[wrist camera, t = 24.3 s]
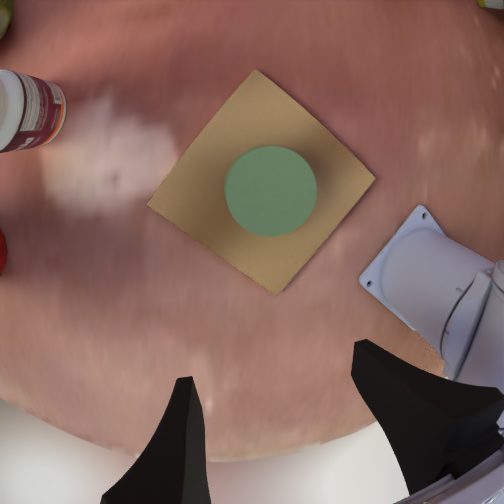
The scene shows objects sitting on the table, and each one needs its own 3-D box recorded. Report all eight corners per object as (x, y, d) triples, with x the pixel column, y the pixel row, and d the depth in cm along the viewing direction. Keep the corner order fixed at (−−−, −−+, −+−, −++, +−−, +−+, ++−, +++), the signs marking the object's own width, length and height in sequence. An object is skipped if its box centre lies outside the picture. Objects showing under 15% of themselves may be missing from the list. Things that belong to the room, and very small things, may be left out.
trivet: (372, 177, 21) (376, 178, 21) (275, 292, 23) (276, 296, 23) (254, 70, 18) (255, 68, 17) (148, 203, 20) (146, 205, 19)
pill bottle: (13, 149, 17) (-64, 164, 9) (19, 85, 15) (-56, 74, 7) (65, 146, 18) (-8, 157, 10) (72, 78, 16) (4, 54, 8)
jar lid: (325, 185, 20) (335, 189, 19) (270, 245, 21) (276, 254, 20) (263, 127, 18) (268, 126, 17) (206, 193, 19) (206, 198, 18)
